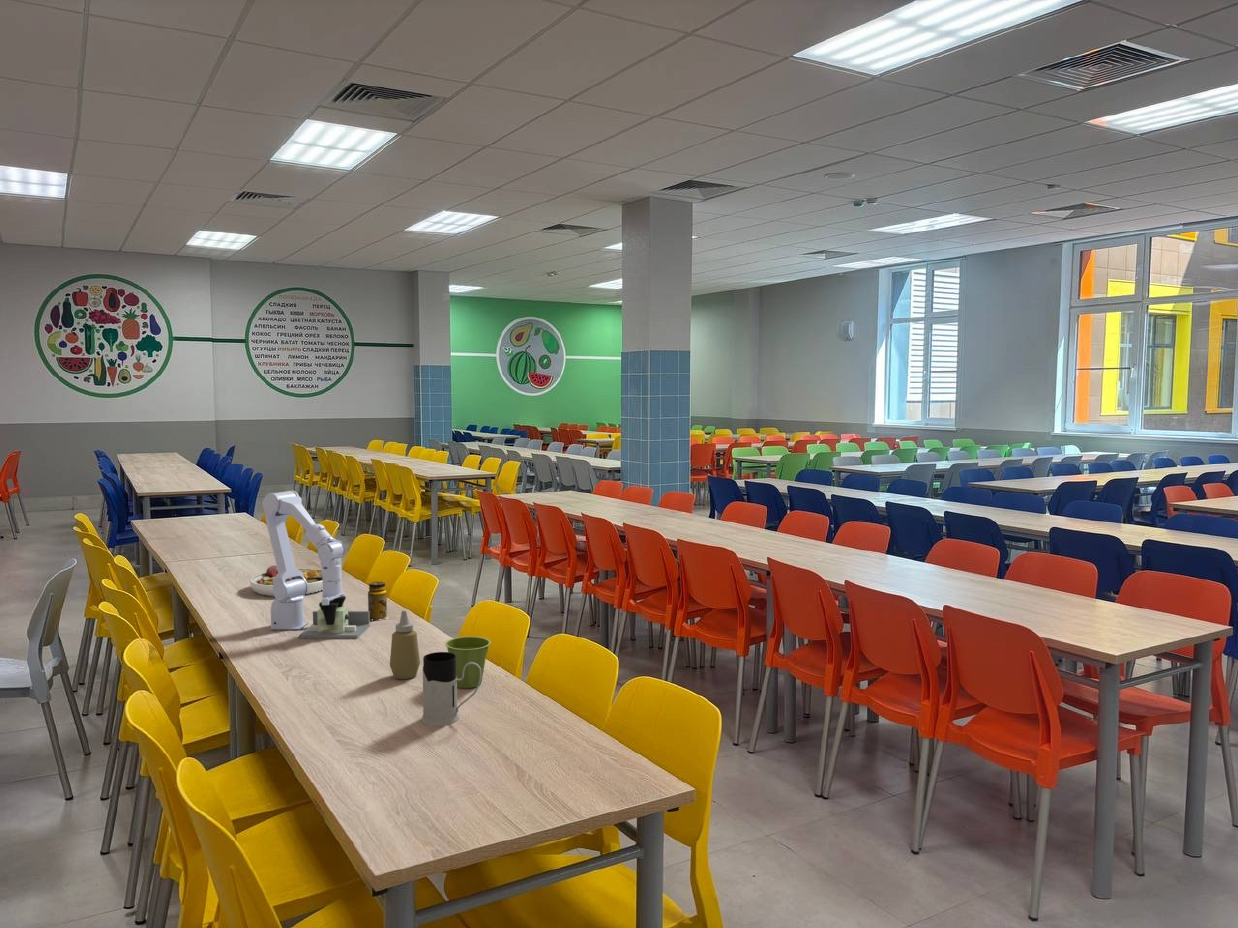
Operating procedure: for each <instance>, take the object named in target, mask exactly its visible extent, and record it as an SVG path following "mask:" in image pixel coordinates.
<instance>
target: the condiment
mask: <svg viewBox="0 0 1238 928" xmlns="http://www.w3.org/2000/svg"><path fill="white" fill-rule="evenodd" d="M368 589H369V590H368V591H367V602H368V603H367V605H368V607H367V609H368V610H367V611H370V619H373V620H376V621H380V620H379V619H385V620H389V619H391V617H390V616H388V615H387V614H388V612H387V611H388V609H387V608H388V606H387V605H388V604H387V601H388V600H387V599H388V598H387V590H386V583H385V582H383V581H373V582H370V583H368ZM373 620H372V621H371V622H374V621H373Z"/></svg>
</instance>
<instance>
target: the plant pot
mask: <svg viewBox="0 0 1238 928" xmlns="http://www.w3.org/2000/svg"><path fill="white" fill-rule="evenodd" d="M491 643H492V642H491V640H490V639H488V638H486V637H481V636H473V635H472V636H470V635H469V636H459V637H454V638H451V639H448V640H446V641H445V642H444V645H445V648H447V652H449V653H453V654H455V655H456V676H457V679H461V678H462V671H463V668H464V666H465V665H466V664H467V663H470V662H474V663H477V664H478V665H479V666H480V668H481V672H482V675H481V682H480V685H481V684H482V682H483V677H484V671H485V669H484V668H485V664H486V659H487V654H488V650H489V647H490V645H491ZM479 679H480V671H479V668H478V667H477V666H476V665H474V664H469V665H468V666H466V668H465V670H464V678H463V679H462V680H460V681H457V688H460V689H463V688H468V689H473V688H477V686H478V683H479Z"/></svg>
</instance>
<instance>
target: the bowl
mask: <svg viewBox="0 0 1238 928" xmlns="http://www.w3.org/2000/svg"><path fill="white" fill-rule="evenodd" d="M297 569H298V570H299V571H301V572H302V573H303V576H304V578H305V580H306V581H307V583H308V591H307V593H306V594H307V595H311V594H310V593H312V594H315V593H314V592H316V593H319V592H322V591H323V577H322V569H320V568H319V569H317V568H297ZM277 574H278V570H277V565H271V566H269V567H268V568H267V569H266V571H265V572H264V573H260V574H257V575H255V576H252V577H251V578H250V579H249V580H250V581H249V583H250V584H249V585H250V588H251V589H252V590H253V591H254V592H255V593H257V594H259V595H261V596H265V595H266V596H267V597H275V596H274V594H273V579H274V577H275V576H276V575H277ZM290 579H291V578H287V579H286V580H290ZM286 580H285V581H286ZM321 590H322V591H321ZM318 591H319V592H318Z"/></svg>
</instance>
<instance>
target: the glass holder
mask: <svg viewBox="0 0 1238 928" xmlns="http://www.w3.org/2000/svg"><path fill="white" fill-rule="evenodd" d="M422 658H423V661H422V662H423V663H422V664H423V665H422V710H423V711H422V712H423V714H422V717H421V719H420V722H421V723H423V724H424V725H427V726H430V727H443V726H449V725H452V724H453V725H454V724H455V723H457V722H458V721H459V720H458V719H460V715H459V714H458V712H459V708H460V707H461V706H462V705H464V704H465V703H466V702H467V701H469V700H470V699H471V698H472V697H473V696H474V695H475V694H477V691H478V689H479V687H480V685H481V684H480V682H481V675H482V672H481V668H480V666H479V665H478V664H477V663H474V662H470V663H467V664H466V665H465V666H464V668H463V671H462V678H461V679H457V676H456V655H455V654H453V653H449V652H448V651H438V652H431V653H427V654H425V655H424V656H423V657H422ZM469 664H474V665H476V666H477V667H478V668H479V671H480V679H479V683H478V686H477V687H475V690H474V691H473V692H472V693H471V694H470V695H469V696H468V697H467V698H465V699H464V700H462V702H461V703H460V704H459V705H458V687H457V681H460V680H462V679H463V678H464V670H465V668H466V666H468V665H469ZM481 683H482V682H481Z"/></svg>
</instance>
